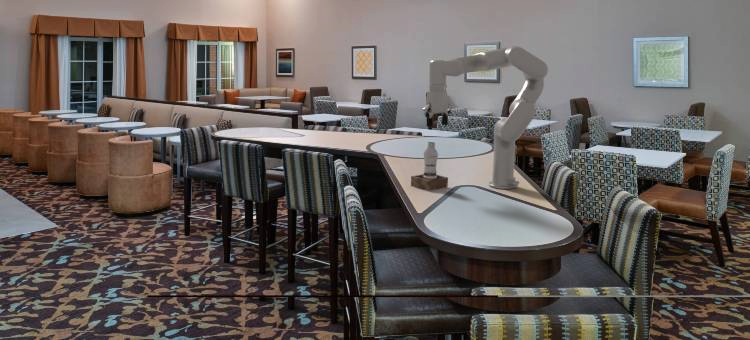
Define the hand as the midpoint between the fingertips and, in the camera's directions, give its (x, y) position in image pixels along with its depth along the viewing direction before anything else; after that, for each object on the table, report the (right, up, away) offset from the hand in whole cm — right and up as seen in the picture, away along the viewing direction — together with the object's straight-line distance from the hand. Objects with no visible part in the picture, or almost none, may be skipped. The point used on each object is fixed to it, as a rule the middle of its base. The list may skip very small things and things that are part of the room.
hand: (437, 125), depth 262 cm
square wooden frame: (-3, -28, +5) cm, 28 cm away
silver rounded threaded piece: (-3, -28, +5) cm, 28 cm away
